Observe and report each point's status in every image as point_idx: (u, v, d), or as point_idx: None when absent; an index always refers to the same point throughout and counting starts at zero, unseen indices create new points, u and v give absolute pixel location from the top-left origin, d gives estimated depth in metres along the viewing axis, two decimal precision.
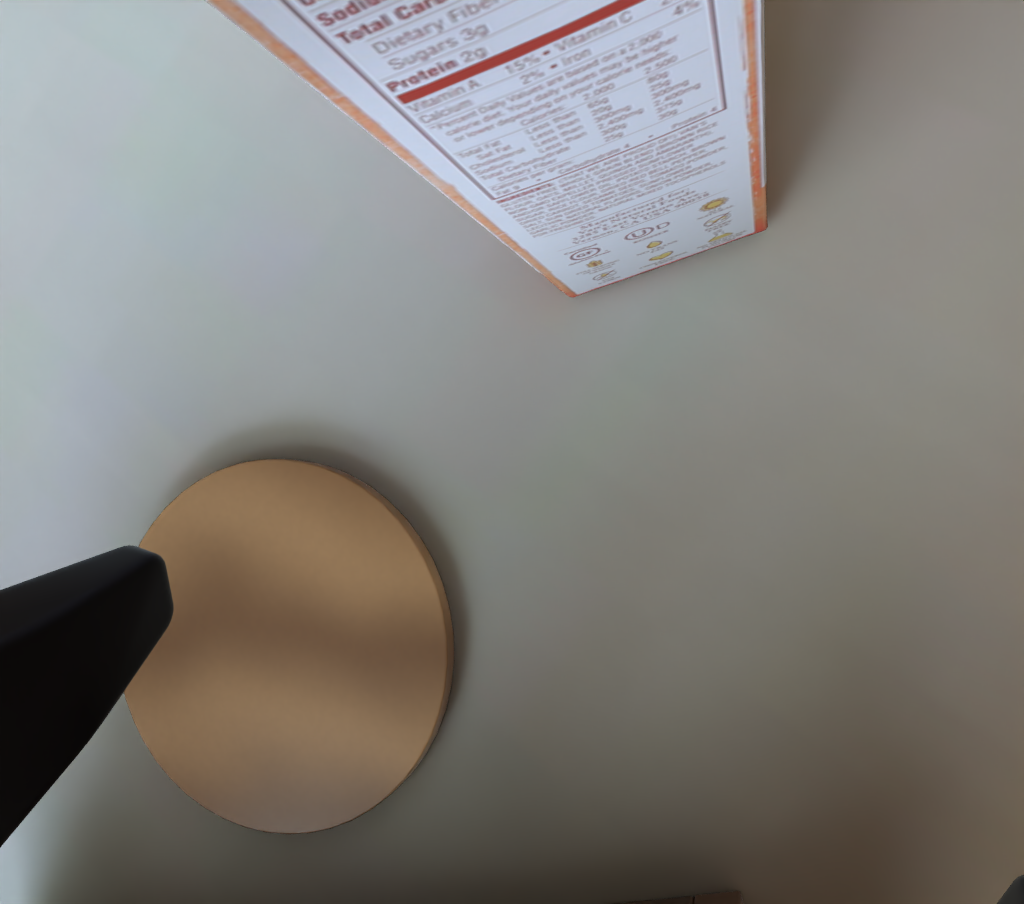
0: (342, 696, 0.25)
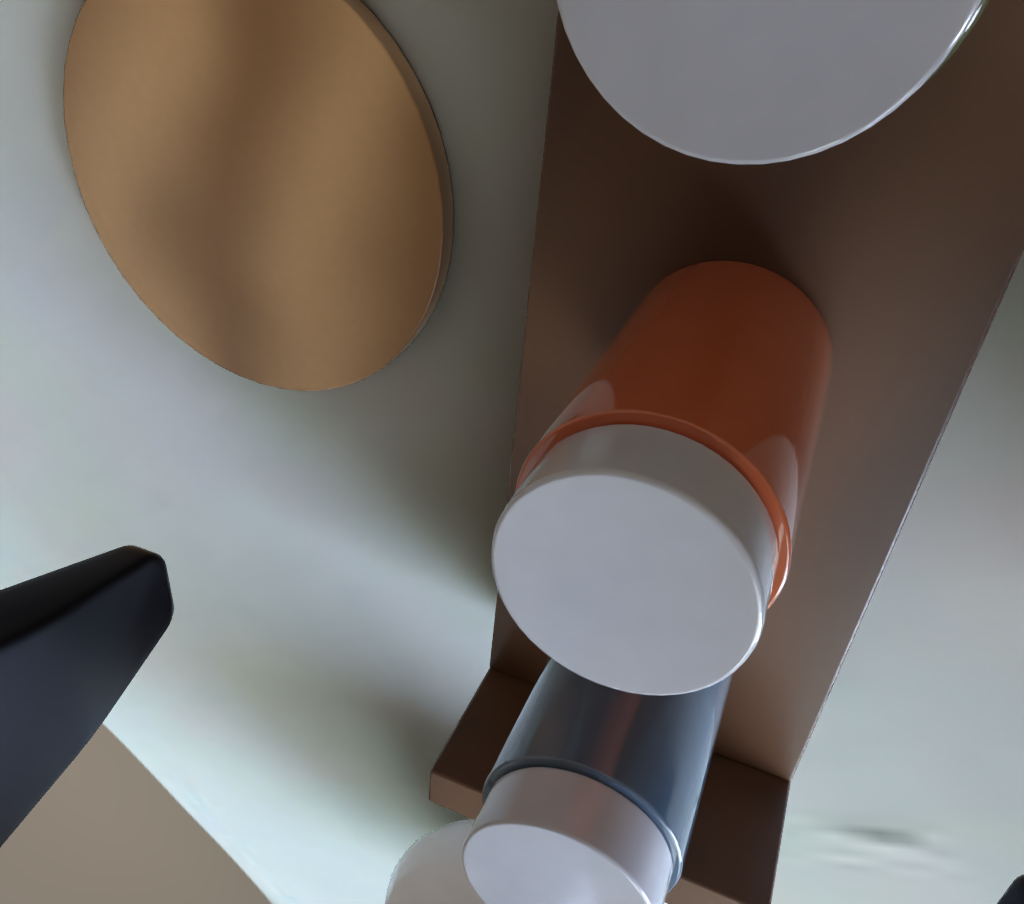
0: (301, 122, 0.20)
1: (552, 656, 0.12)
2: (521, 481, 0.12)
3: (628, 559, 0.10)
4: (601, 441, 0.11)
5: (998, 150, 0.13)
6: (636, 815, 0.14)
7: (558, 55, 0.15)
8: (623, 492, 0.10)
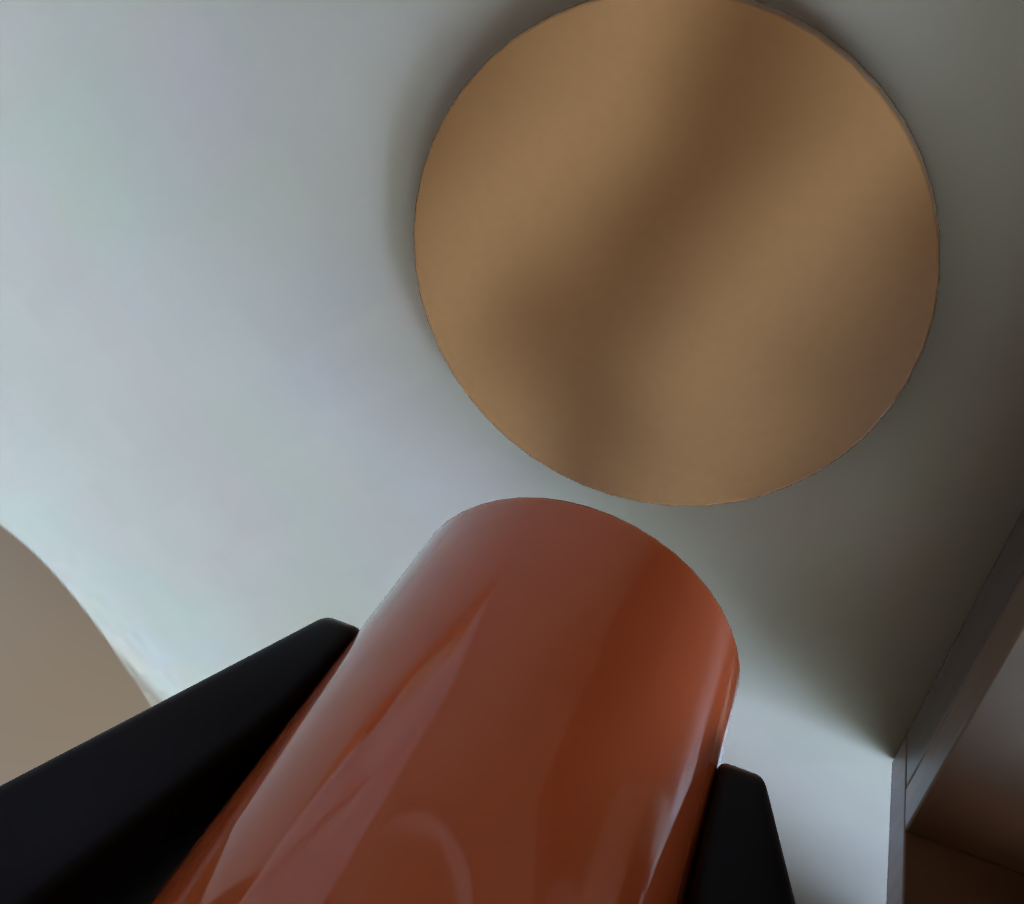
0: (755, 212, 0.17)
1: None
2: None
3: None
4: None
5: None
6: None
7: None
8: None
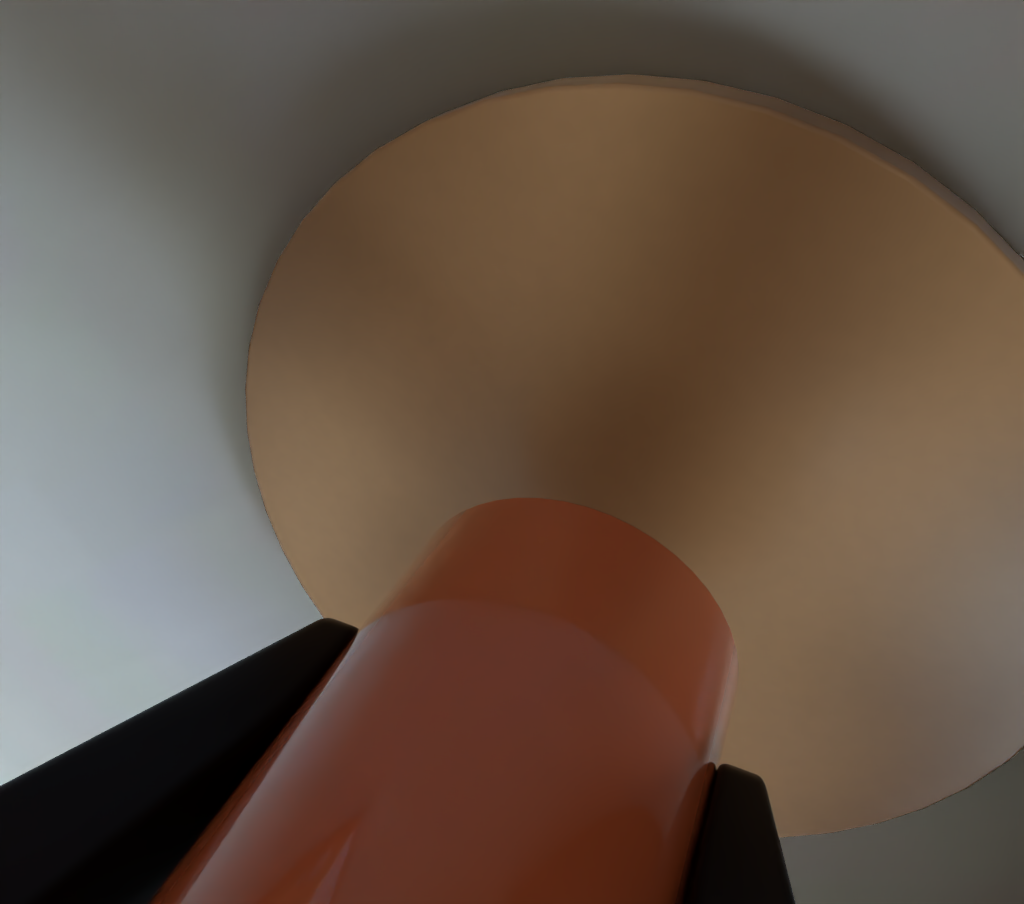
0: (789, 457, 0.10)
1: None
2: None
3: None
4: None
5: None
6: None
7: None
8: None
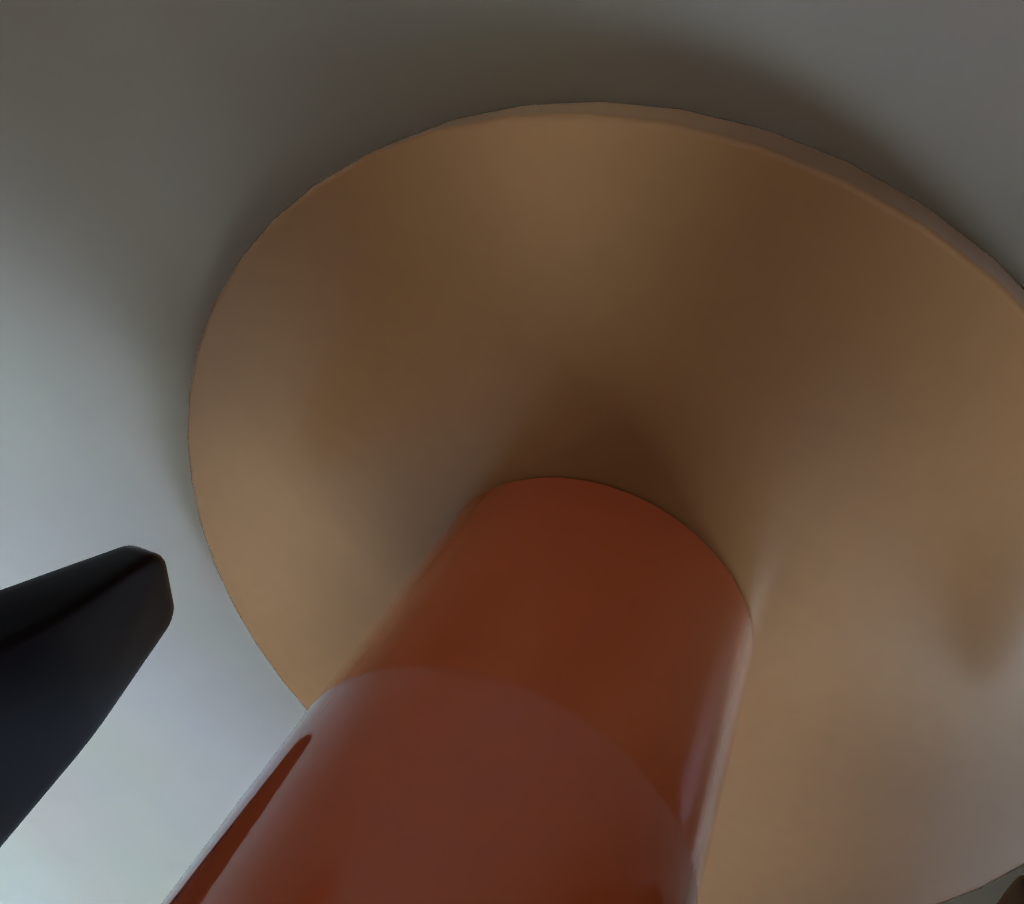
0: (783, 530, 0.09)
1: None
2: None
3: None
4: None
5: None
6: None
7: None
8: None
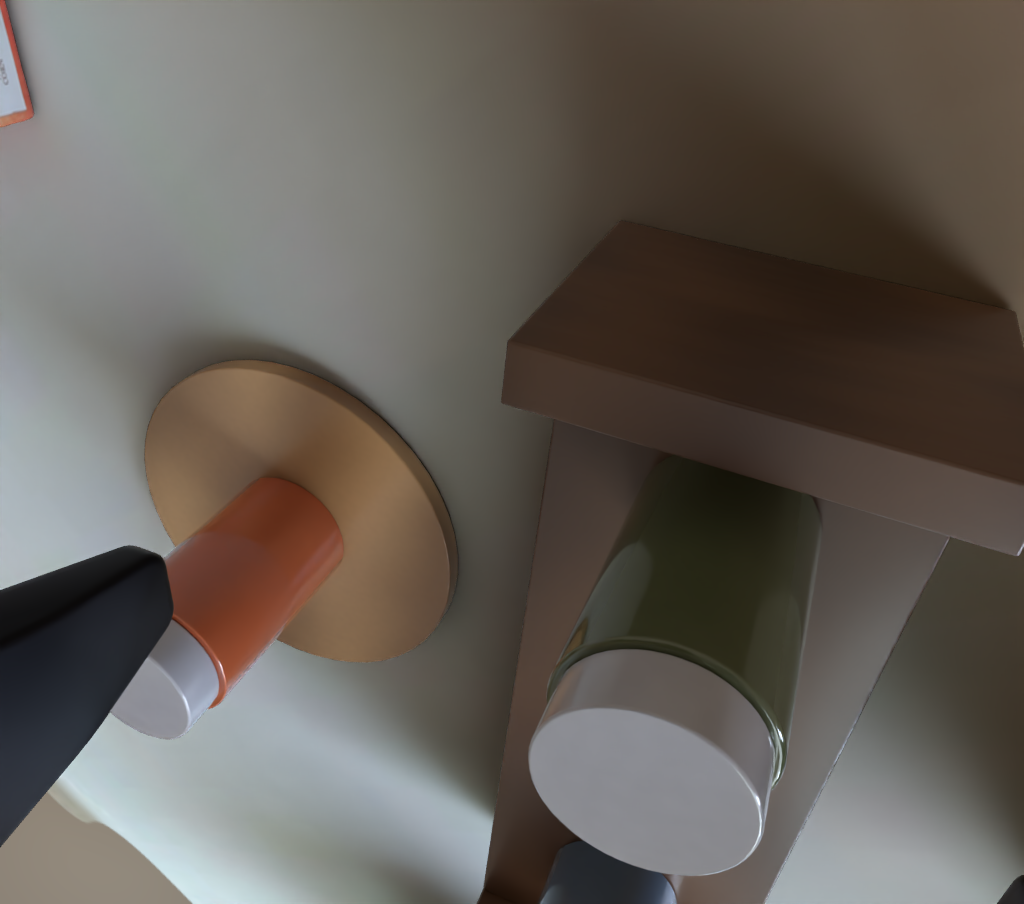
0: (340, 496, 0.26)
1: None
2: None
3: None
4: None
5: (840, 660, 0.19)
6: None
7: (538, 548, 0.20)
8: None
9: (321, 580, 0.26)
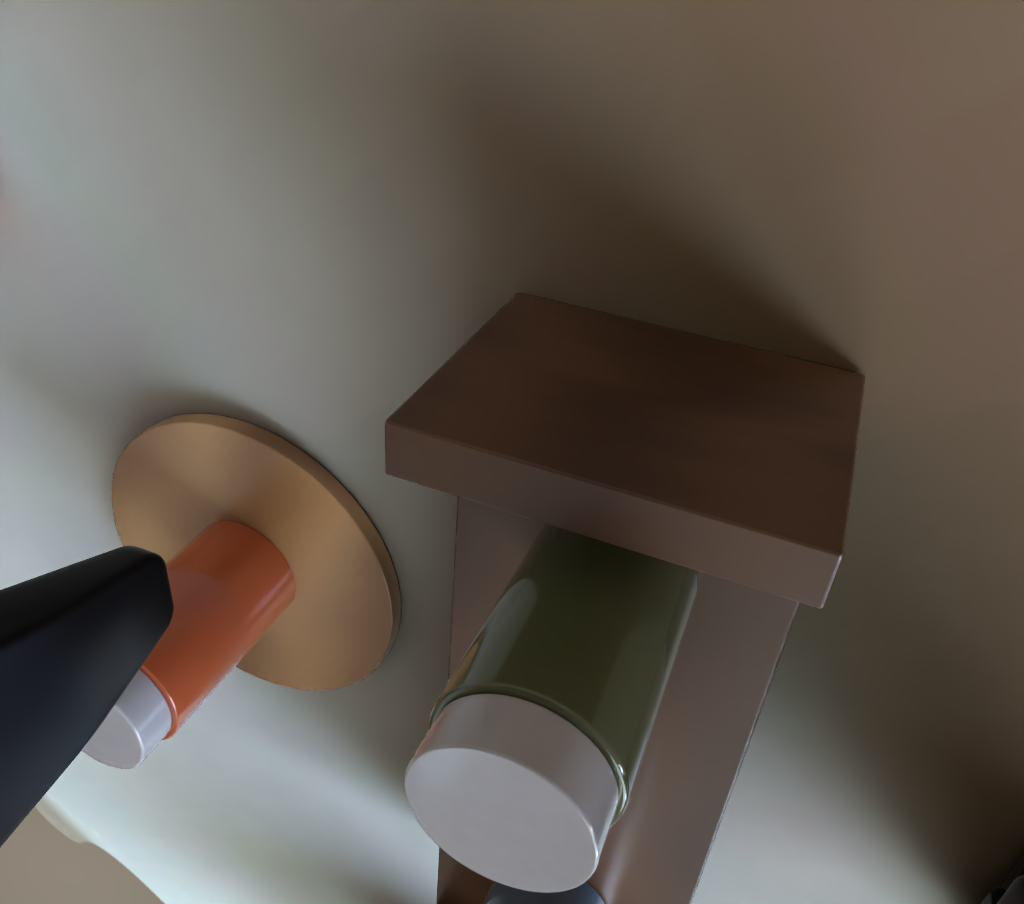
0: (288, 538, 0.27)
1: None
2: None
3: None
4: None
5: (726, 691, 0.20)
6: None
7: (455, 589, 0.22)
8: None
9: (273, 616, 0.28)
